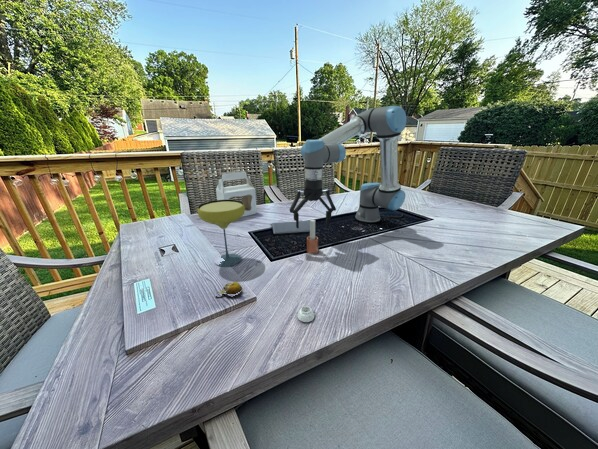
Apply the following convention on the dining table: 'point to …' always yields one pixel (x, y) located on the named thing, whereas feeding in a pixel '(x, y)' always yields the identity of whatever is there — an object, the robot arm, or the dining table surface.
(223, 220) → the cocktail glass
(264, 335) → the dining table surface
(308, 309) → the lidless jar
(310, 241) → the pen cup
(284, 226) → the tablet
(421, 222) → the dining table surface
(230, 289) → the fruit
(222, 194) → the gable box
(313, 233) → the stylus
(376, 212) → the robot arm
